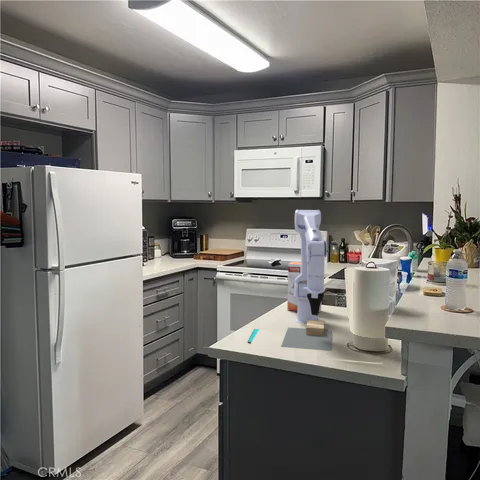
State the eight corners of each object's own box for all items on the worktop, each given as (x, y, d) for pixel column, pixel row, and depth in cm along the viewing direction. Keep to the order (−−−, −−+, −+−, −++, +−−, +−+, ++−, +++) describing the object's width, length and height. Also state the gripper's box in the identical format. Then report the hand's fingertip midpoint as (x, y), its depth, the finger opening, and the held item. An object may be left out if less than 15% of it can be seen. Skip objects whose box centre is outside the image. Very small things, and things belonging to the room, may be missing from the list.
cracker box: (286, 310, 181) (287, 263, 180) (290, 307, 187) (291, 261, 185) (318, 313, 176) (319, 265, 174) (321, 310, 182) (322, 263, 180)
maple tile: (305, 334, 146) (307, 326, 155) (323, 335, 144) (324, 327, 154) (306, 327, 145) (307, 319, 155) (323, 328, 144) (324, 321, 154)
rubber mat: (288, 328, 154) (288, 327, 154) (332, 331, 151) (332, 330, 151) (280, 348, 133) (280, 346, 133) (332, 352, 129) (332, 350, 129)
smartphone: (247, 341, 137) (254, 328, 152) (247, 344, 138) (254, 331, 152) (269, 343, 136) (274, 330, 151) (269, 346, 136) (274, 332, 151)
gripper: (305, 272, 150) (304, 309, 151) (302, 278, 136) (301, 319, 137) (325, 272, 149) (324, 310, 150) (324, 279, 135) (323, 320, 136)
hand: (315, 314), depth 143 cm, fingers closed
